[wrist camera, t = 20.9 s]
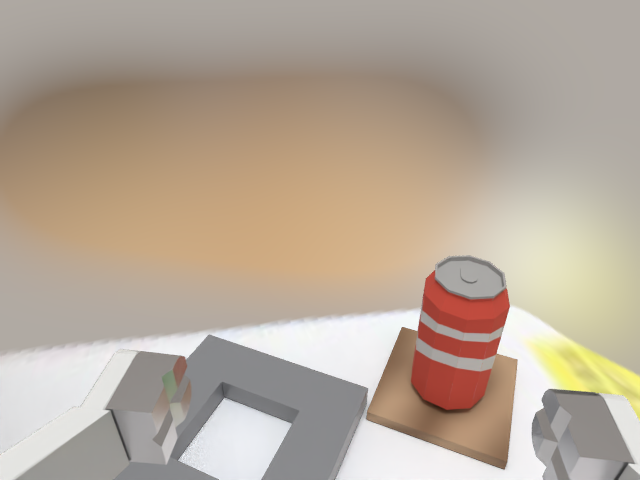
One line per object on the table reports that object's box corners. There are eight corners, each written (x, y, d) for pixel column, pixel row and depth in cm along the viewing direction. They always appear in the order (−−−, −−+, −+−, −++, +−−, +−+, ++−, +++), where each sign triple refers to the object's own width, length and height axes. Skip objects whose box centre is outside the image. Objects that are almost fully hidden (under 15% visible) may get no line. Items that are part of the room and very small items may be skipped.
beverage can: (480, 364, 43) (508, 256, 36) (484, 422, 38) (518, 309, 31) (413, 352, 44) (429, 246, 38) (408, 407, 39) (426, 295, 32)
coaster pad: (366, 419, 39) (367, 411, 38) (401, 334, 48) (402, 326, 47) (504, 469, 35) (507, 461, 35) (515, 367, 44) (517, 359, 43)
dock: (82, 500, 33) (74, 484, 32) (211, 349, 46) (208, 334, 45) (280, 607, 28) (279, 593, 27) (366, 403, 40) (367, 388, 39)
